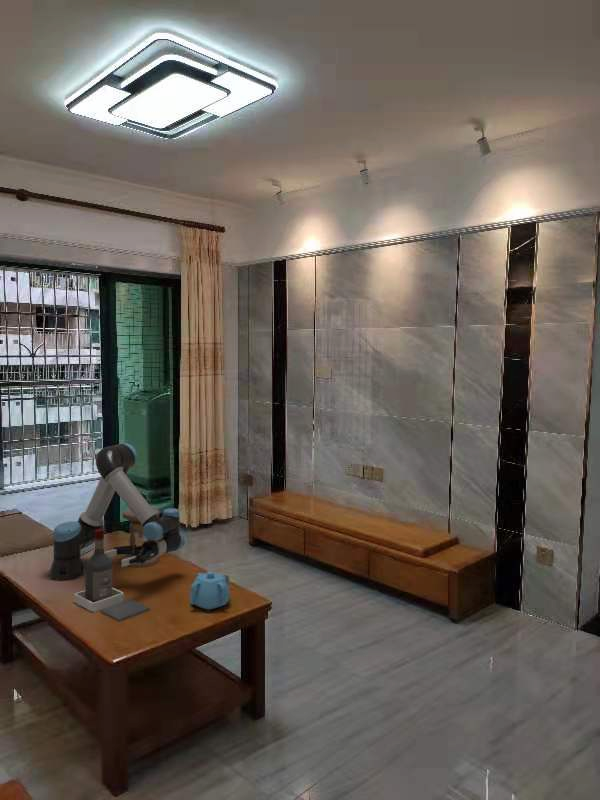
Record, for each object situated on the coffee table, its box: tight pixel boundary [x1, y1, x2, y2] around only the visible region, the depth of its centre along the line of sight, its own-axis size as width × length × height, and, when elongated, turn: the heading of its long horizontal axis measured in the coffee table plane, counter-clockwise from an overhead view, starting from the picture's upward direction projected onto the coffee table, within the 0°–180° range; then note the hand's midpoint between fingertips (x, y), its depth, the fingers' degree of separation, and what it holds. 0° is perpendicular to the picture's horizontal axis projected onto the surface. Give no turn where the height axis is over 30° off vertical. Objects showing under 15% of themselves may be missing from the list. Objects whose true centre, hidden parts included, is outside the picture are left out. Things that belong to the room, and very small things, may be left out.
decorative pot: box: [189, 571, 231, 610], centre depth 239 cm, size 16×16×14 cm
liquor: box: [84, 529, 114, 603], centre depth 238 cm, size 9×9×30 cm
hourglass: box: [121, 507, 160, 568], centre depth 288 cm, size 18×18×25 cm
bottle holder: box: [73, 586, 125, 613], centre depth 239 cm, size 15×15×4 cm
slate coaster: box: [99, 598, 151, 623], centre depth 231 cm, size 13×14×1 cm
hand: (112, 559), depth 242 cm, fingers open, 13 cm apart
